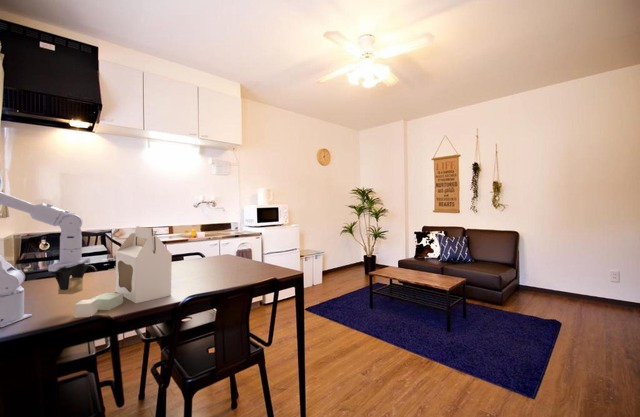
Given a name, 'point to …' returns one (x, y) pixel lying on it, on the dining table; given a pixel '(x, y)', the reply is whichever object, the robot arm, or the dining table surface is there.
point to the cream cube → (86, 308)
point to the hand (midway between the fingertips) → (70, 287)
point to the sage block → (108, 300)
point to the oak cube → (73, 286)
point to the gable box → (143, 267)
